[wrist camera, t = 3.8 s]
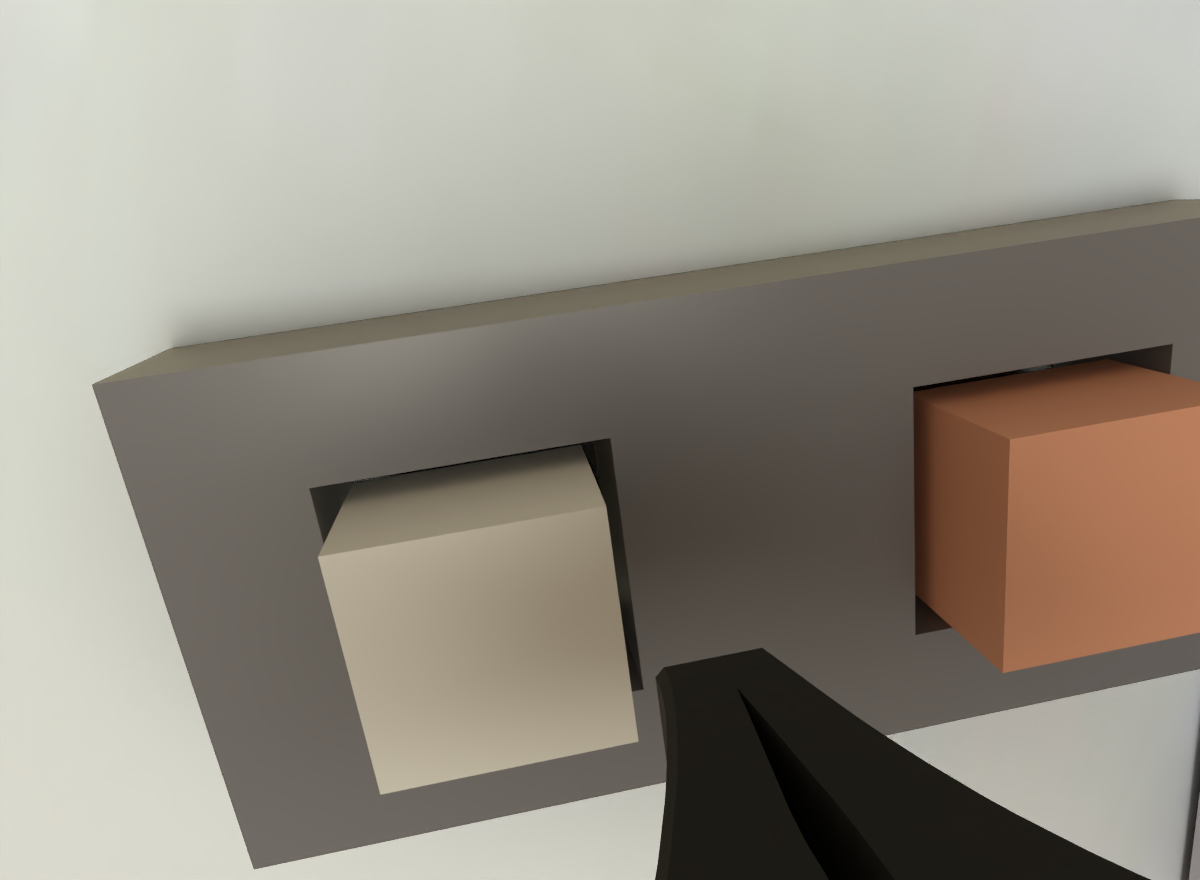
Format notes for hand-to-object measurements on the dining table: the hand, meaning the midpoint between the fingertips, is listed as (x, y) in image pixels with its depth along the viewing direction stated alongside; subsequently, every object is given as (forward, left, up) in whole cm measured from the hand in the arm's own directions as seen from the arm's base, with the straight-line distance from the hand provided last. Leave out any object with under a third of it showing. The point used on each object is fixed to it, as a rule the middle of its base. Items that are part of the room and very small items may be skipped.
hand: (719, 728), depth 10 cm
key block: (-2, 0, -7) cm, 8 cm away
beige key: (+3, 0, -5) cm, 6 cm away
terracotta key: (-7, 0, -5) cm, 9 cm away
